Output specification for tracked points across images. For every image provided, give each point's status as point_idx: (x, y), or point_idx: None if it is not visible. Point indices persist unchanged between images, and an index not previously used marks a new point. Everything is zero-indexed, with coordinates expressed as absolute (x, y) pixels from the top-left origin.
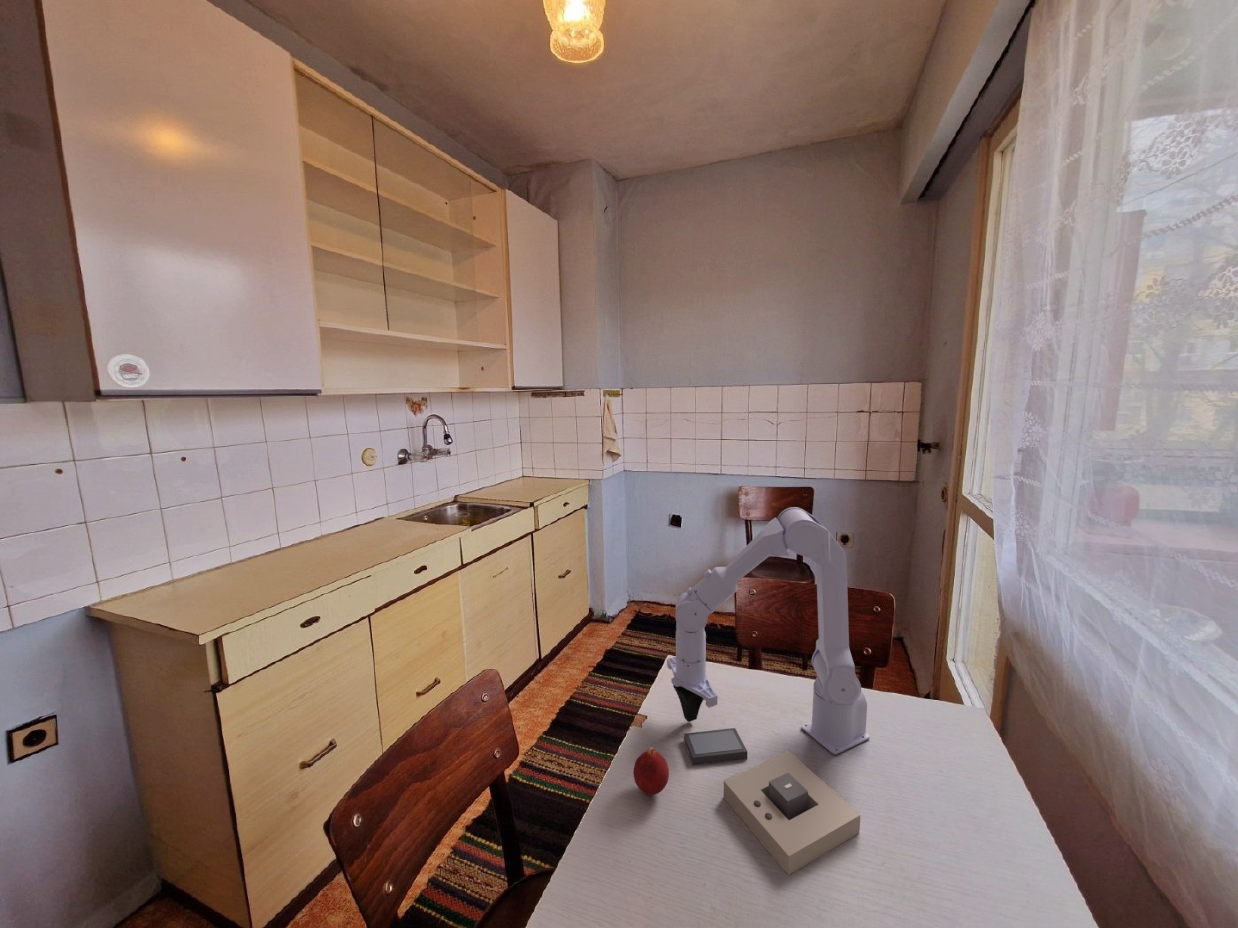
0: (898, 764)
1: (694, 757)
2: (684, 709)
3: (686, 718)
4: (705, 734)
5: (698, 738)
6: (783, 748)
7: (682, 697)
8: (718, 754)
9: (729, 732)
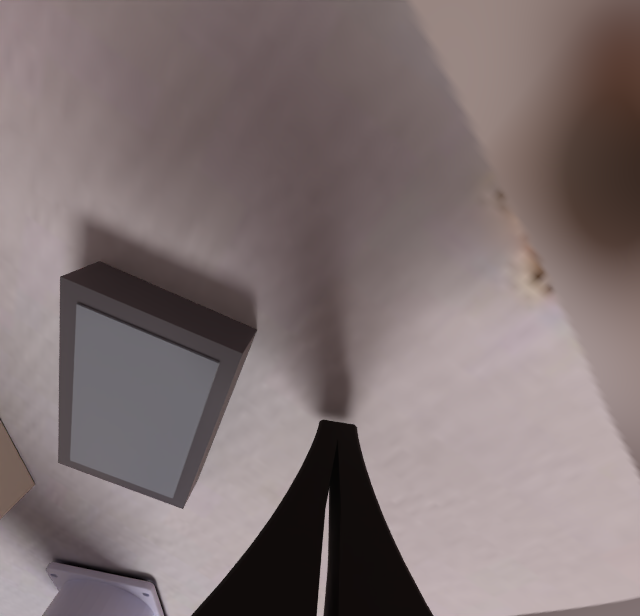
0: (14, 592)
1: (60, 284)
2: (339, 474)
3: (328, 429)
4: (189, 420)
5: (176, 383)
6: (101, 517)
7: (297, 602)
8: (61, 382)
9: (165, 484)
